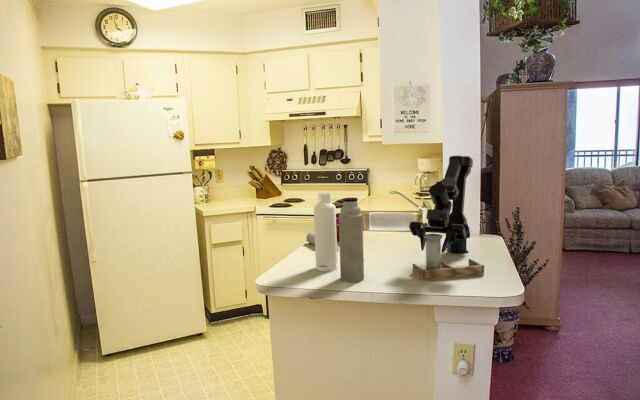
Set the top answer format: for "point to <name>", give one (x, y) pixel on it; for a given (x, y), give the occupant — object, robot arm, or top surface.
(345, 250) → the thermos bottle
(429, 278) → the rack
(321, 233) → the bottle
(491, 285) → the top surface
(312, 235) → the tube
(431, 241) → the cord reel
